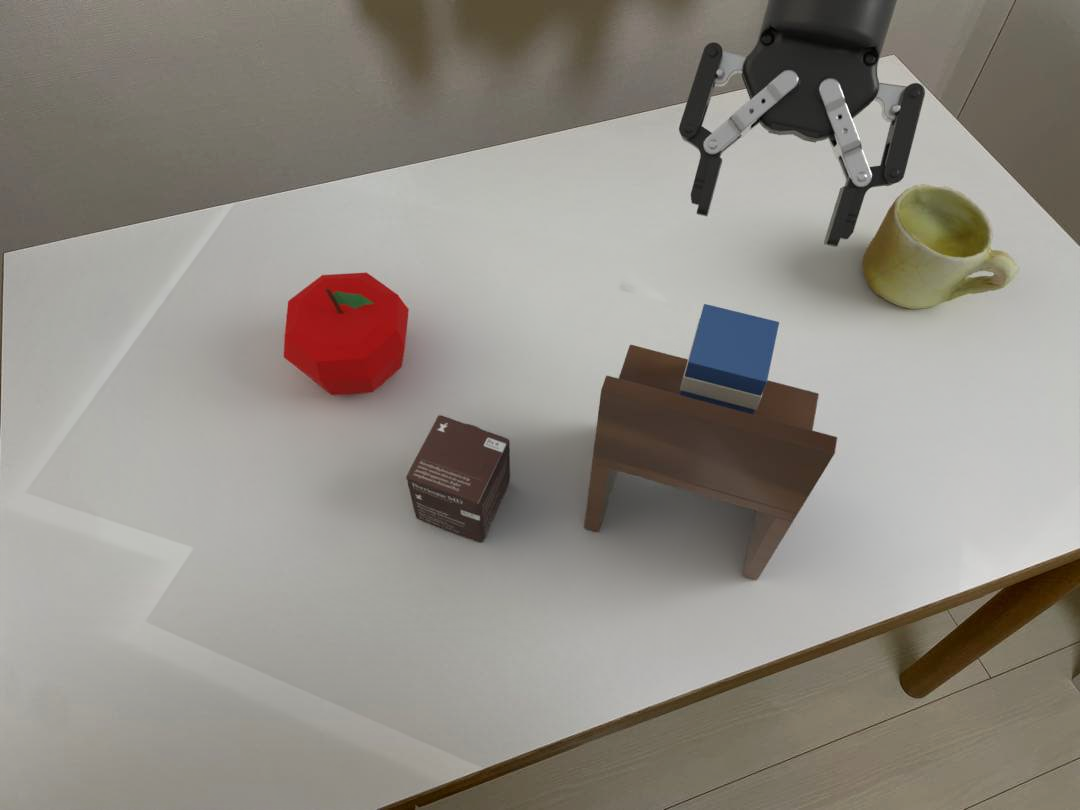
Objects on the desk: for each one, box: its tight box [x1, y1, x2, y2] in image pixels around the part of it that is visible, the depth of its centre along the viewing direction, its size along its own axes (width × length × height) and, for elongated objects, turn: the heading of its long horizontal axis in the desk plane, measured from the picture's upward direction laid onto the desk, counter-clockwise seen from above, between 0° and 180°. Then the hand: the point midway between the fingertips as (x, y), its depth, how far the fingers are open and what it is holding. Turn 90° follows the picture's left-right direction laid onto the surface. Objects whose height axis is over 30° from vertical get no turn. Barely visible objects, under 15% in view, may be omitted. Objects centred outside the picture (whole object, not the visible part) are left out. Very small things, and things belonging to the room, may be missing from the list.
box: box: [405, 414, 511, 544], centre depth 66 cm, size 6×6×7 cm
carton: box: [679, 303, 780, 414], centre depth 57 cm, size 5×5×7 cm
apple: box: [283, 271, 410, 396], centre depth 72 cm, size 11×11×10 cm
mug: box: [861, 184, 1019, 310], centre depth 79 cm, size 12×10×10 cm
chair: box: [583, 344, 838, 581], centre depth 61 cm, size 10×14×20 cm
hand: (765, 230), depth 56 cm, fingers open, 8 cm apart
